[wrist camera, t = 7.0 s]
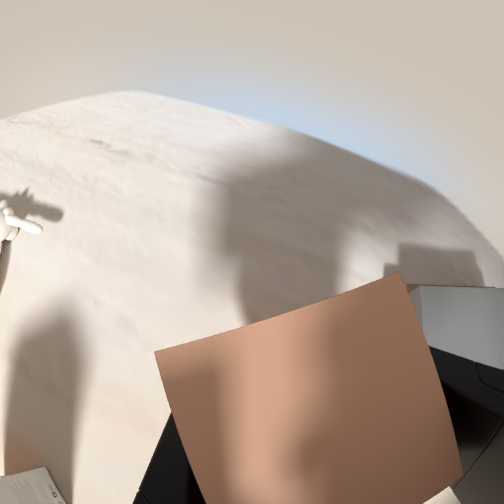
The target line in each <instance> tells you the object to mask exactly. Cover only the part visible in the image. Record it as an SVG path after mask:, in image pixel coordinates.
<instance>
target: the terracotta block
mask: <svg viewBox="0 0 504 504" xmlns="http://www.w3.org/2000/svg"><path fill="white" fill-rule="evenodd" d="M154 353H155V357H156V361H157V365H158V368H159V372H160V375H161V379H162V382H163V386H164V389H165V392H166V396H167V399H168V402H169V405H170V408H171V412H172V415H173V418H174V421H175V424H176V427H177V430H178V432H179V435H180V438H181V441H182V444H183V447H184V449H185V452H186V455H187V457H188V460H189V463H190V465H191V468H192V470H193V473H194V475H195V478H196V480H197V483H198V485H199V488H200V490H201V493H202V495H203V497H204V500H205V502H206V504H423V503H424V502H426V501H427V500H429V499H431V498H432V497H434V496H435V495H437V494H438V493H440V492H441V491H443V490H444V489H445V488H447V487H448V486H450V485H451V484H453V483H454V482H455V481H457V480H458V479H459V478H461V477H462V476H463V471H462V466H461V461H460V456H459V451H458V447H457V442H456V438H455V434H454V430H453V426H452V422H451V418H450V414H449V410H448V407H447V403H446V400H445V396H444V393H443V389H442V386H441V383H440V380H439V376H438V373H437V370H436V367H435V364H434V361H433V358H432V355H431V352H430V349H429V346H428V344H427V341H426V338H425V335H424V333H423V330H422V327H421V325H420V322H419V319H418V317H417V314H416V312H415V309H414V307H413V304H412V302H411V299H410V297H409V294H408V292H407V290H406V287H405V285H404V282H403V280H402V278H401V276H400V273H399V272H397V273H394V274H392V275H389V276H387V277H384V278H381V279H379V280H376V281H374V282H371V283H369V284H366V285H363V286H361V287H358V288H355V289H353V290H350V291H347V292H344V293H342V294H339V295H336V296H333V297H331V298H328V299H325V300H322V301H319V302H317V303H314V304H311V305H308V306H305V307H302V308H299V309H296V310H293V311H290V312H287V313H284V314H281V315H278V316H275V317H272V318H269V319H266V320H263V321H259V322H256V323H253V324H250V325H247V326H243V327H240V328H237V329H234V330H230V331H227V332H224V333H220V334H217V335H213V336H210V337H206V338H203V339H199V340H196V341H192V342H189V343H185V344H181V345H177V346H174V347H170V348H166V349H162V350H159V351H155V352H154Z"/></svg>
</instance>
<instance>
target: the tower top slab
mask: <svg viewBox="0 0 504 504" xmlns="http://www.w3.org/2000/svg"><path fill="white" fill-rule="evenodd" d="M408 294H409V297H410V299H411V302H412V304H413V307H414V309H415V312H416V314H417V317H418V319H419V322H420V325H421V327H422V330H423V333H424V335H425V338H426V341H427V344H428V345H429V346H432V347H434V348H437V349H440V350H443V351H446V352H449V353H452V354H455V355H458V356H461V357H464V358H467V359H470V360H473V361H474V362H475V361H476V362H479V363H482V364H486V365H489V366H492V367H496V368H499V369H503V370H504V288H469V287H438V286H419V287H417V288H416V289H414V290H413V291H411V292H409V293H408Z"/></svg>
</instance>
